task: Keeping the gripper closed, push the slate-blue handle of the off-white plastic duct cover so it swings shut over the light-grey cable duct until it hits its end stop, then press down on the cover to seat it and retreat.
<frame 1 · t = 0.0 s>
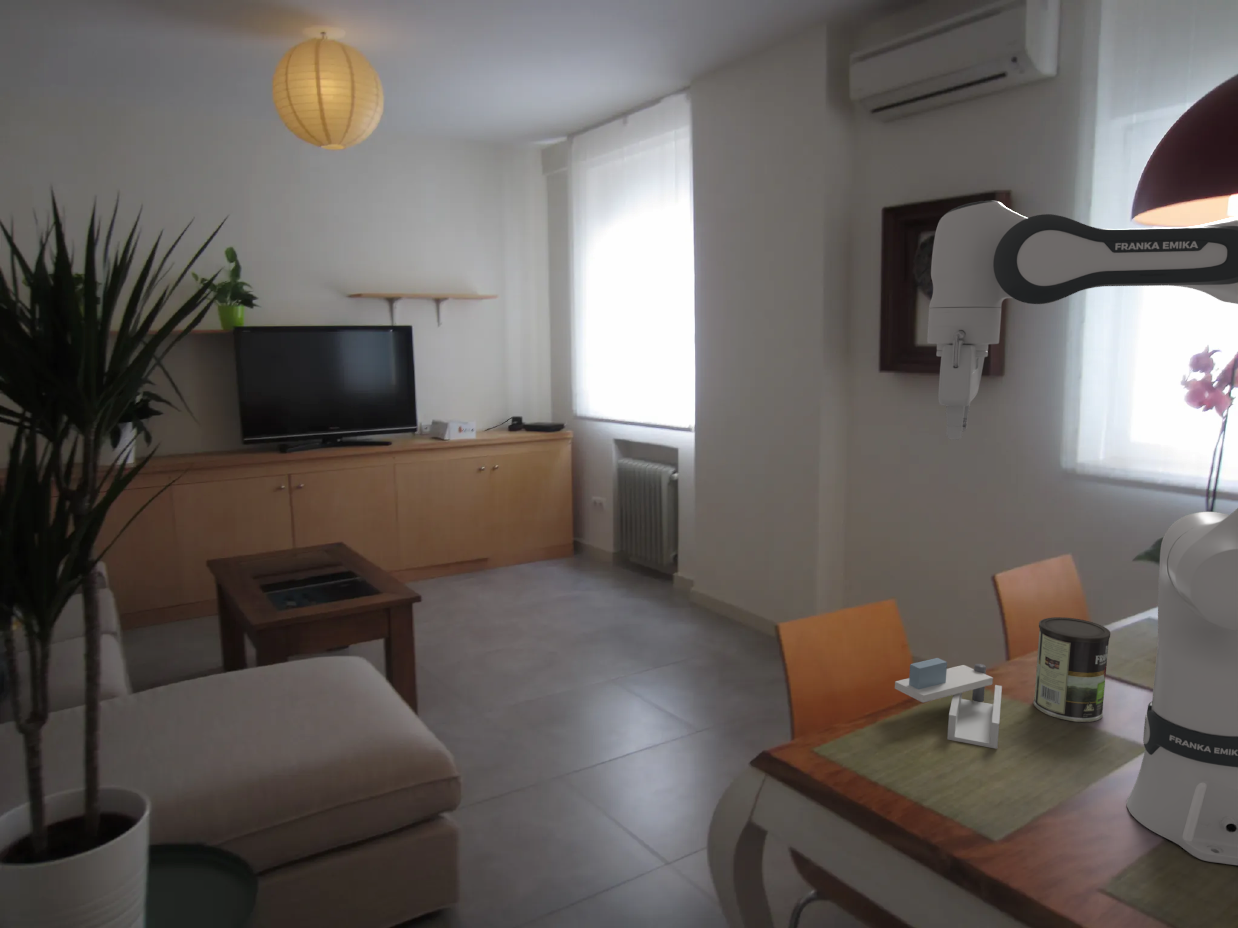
hand: (956, 435, 114), 48 cm above the table, fingers open, 8 cm apart
duct: (974, 723, 135), on the table
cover: (947, 683, 139), point 5 cm above the table, hinge at -38.0°
coffee can: (1067, 709, 141), on the table
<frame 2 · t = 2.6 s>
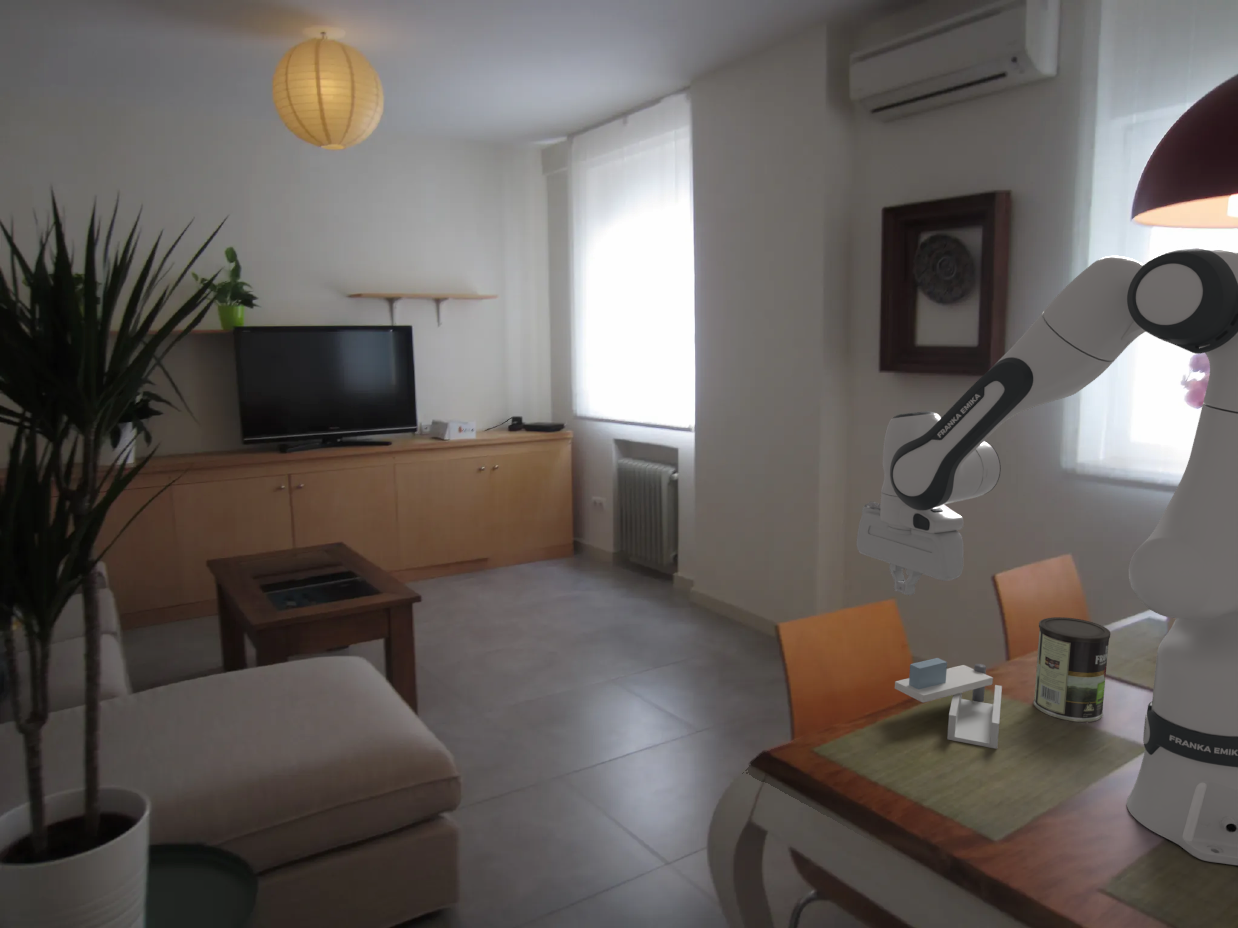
hand: (904, 592, 140), 19 cm above the table, fingers closed
nothing on the table moved.
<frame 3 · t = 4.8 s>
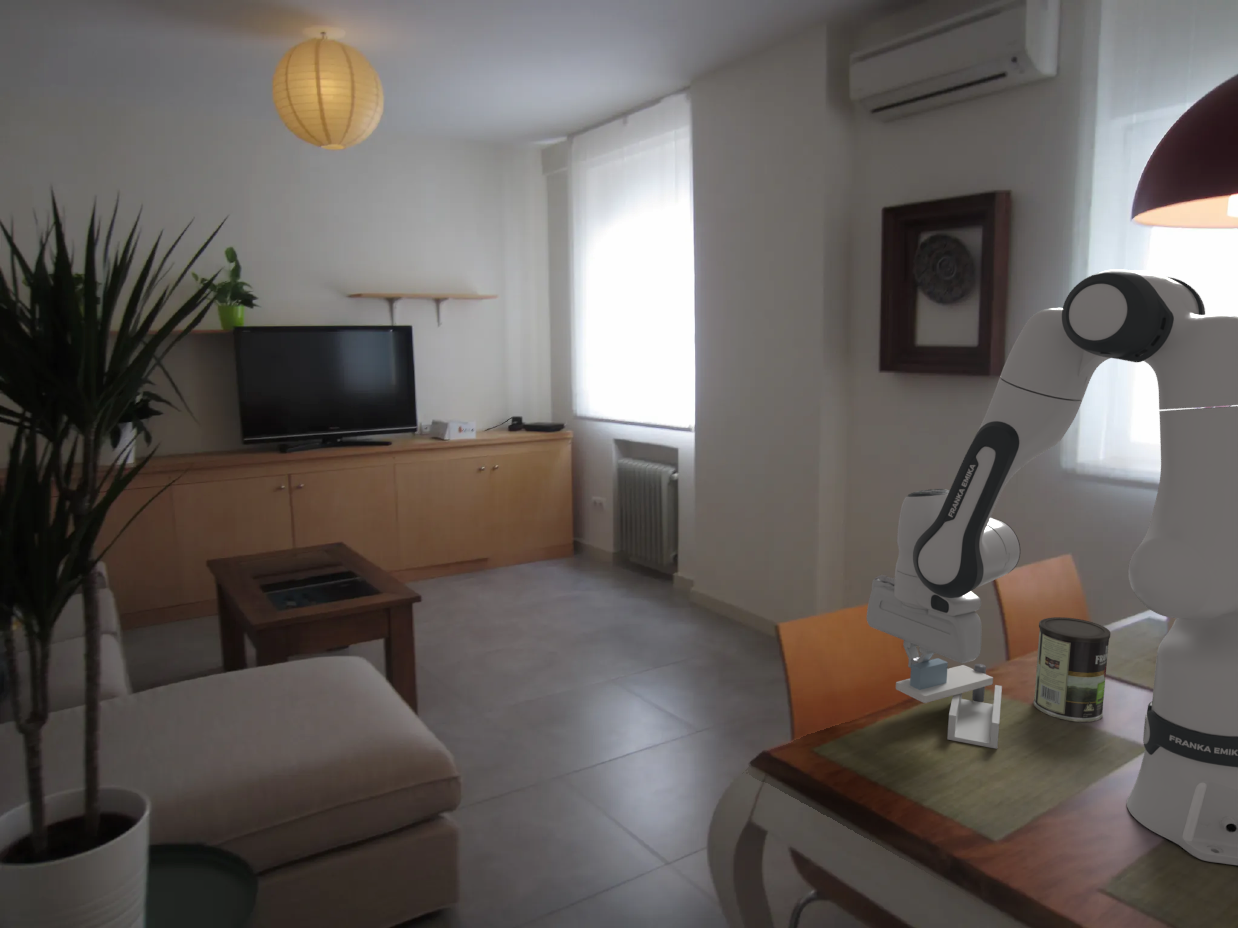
hand: (917, 669, 139), 7 cm above the table, fingers closed
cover: (947, 683, 139), point 5 cm above the table, hinge at -37.1°, touching gripper
everything else where it was.
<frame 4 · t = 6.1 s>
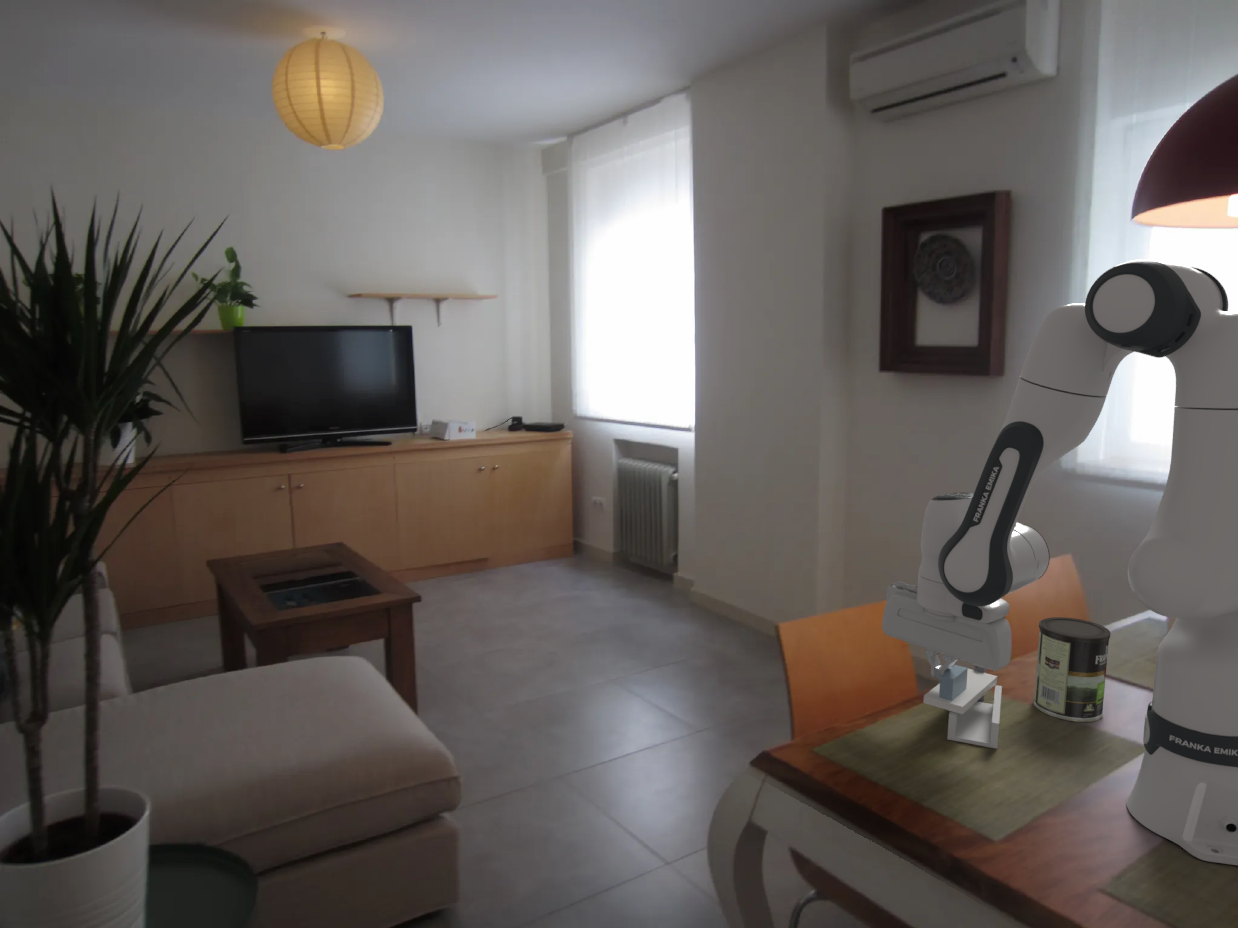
hand: (939, 677, 135), 7 cm above the table, fingers closed
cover: (962, 689, 137), point 5 cm above the table, hinge at -16.4°, touching gripper
everything else where it was.
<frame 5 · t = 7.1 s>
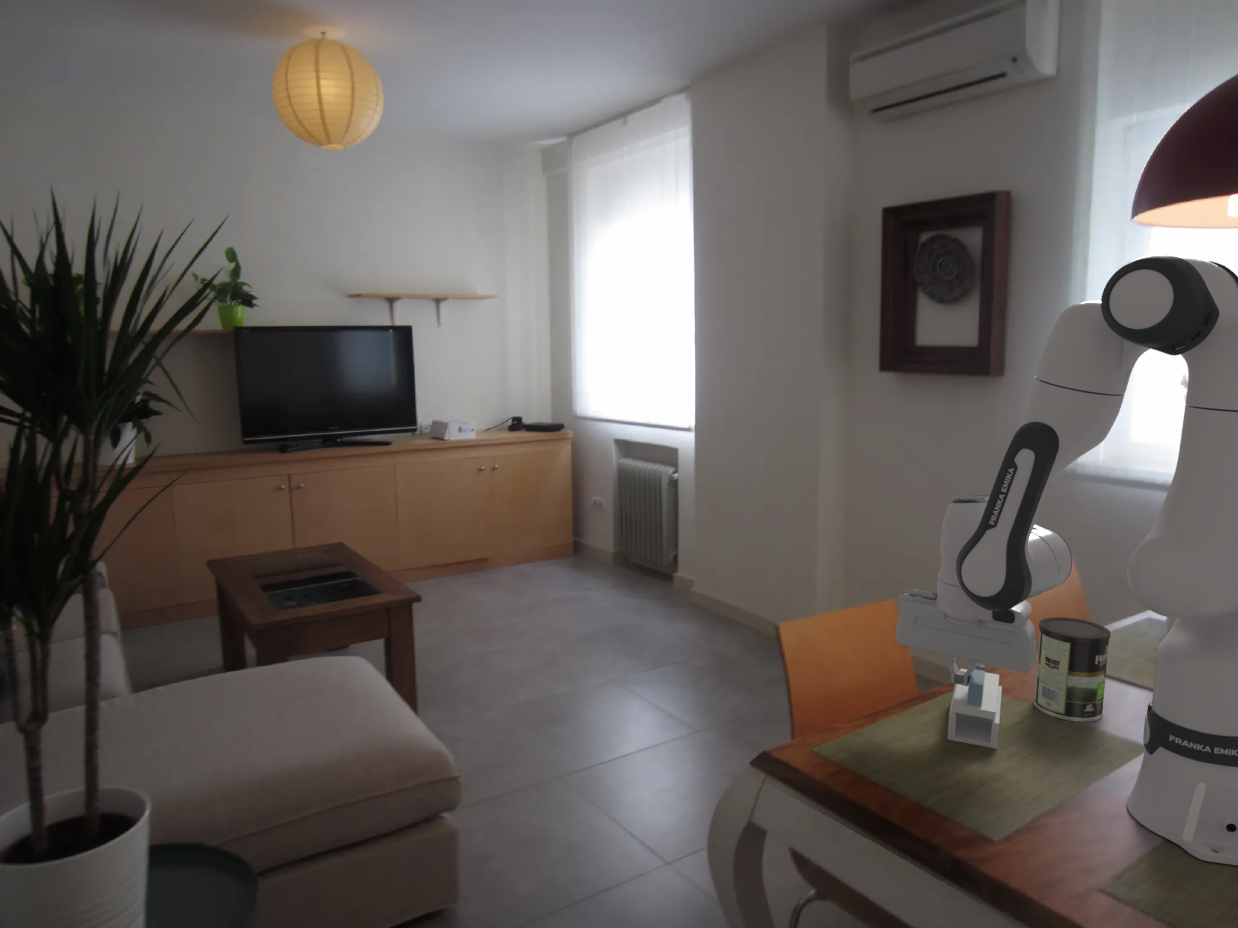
hand: (960, 683, 133), 7 cm above the table, fingers closed
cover: (976, 692, 136), point 5 cm above the table, hinge at -0.3°, touching gripper
everything else where it was.
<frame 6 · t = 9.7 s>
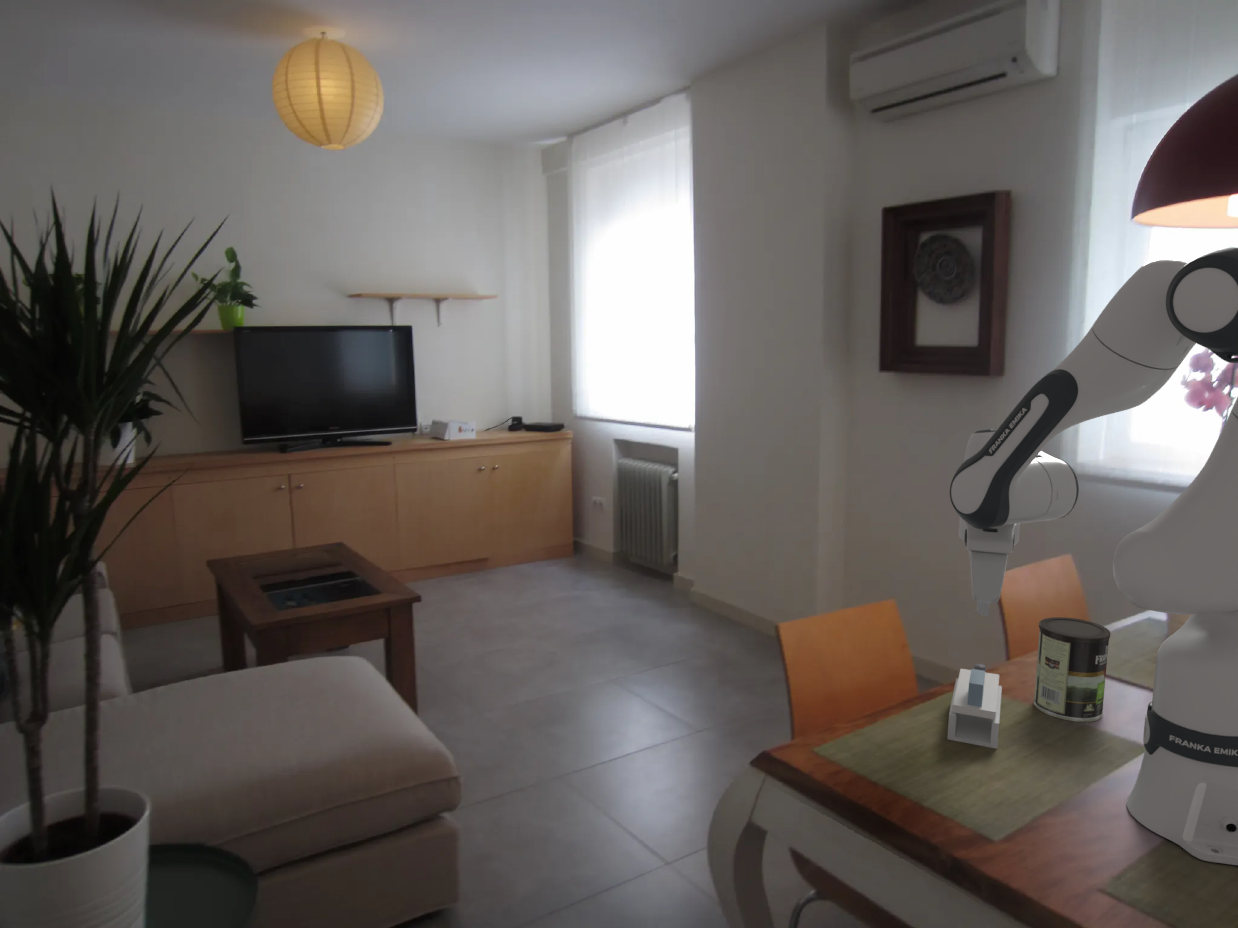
hand: (982, 612, 137), 17 cm above the table, fingers closed
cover: (977, 692, 136), point 5 cm above the table, hinge at -0.2°
everything else where it was.
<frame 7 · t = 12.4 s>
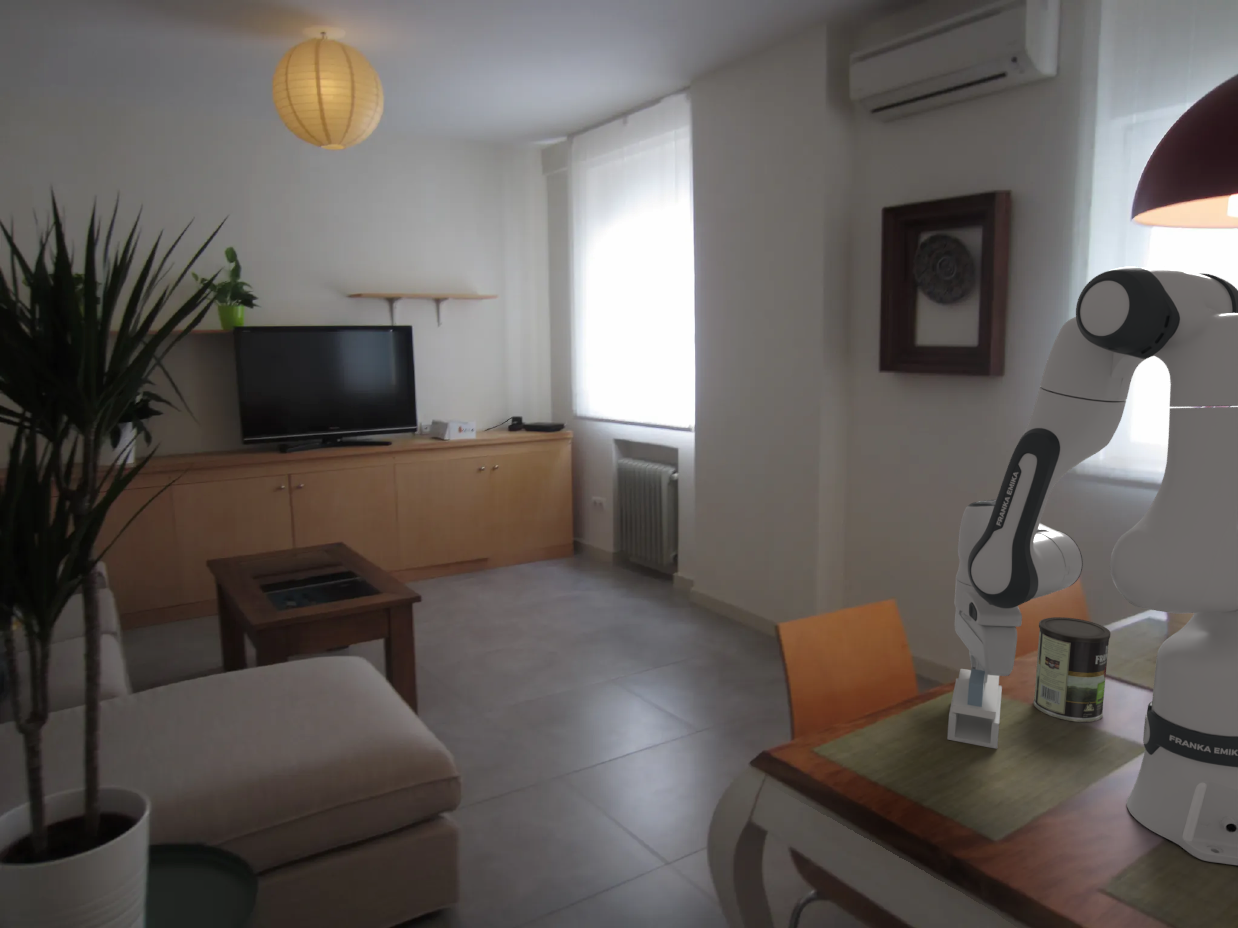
hand: (978, 679, 138), 6 cm above the table, fingers closed, pressing on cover
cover: (977, 692, 136), point 5 cm above the table, hinge at -0.2°, touching gripper
everything else where it was.
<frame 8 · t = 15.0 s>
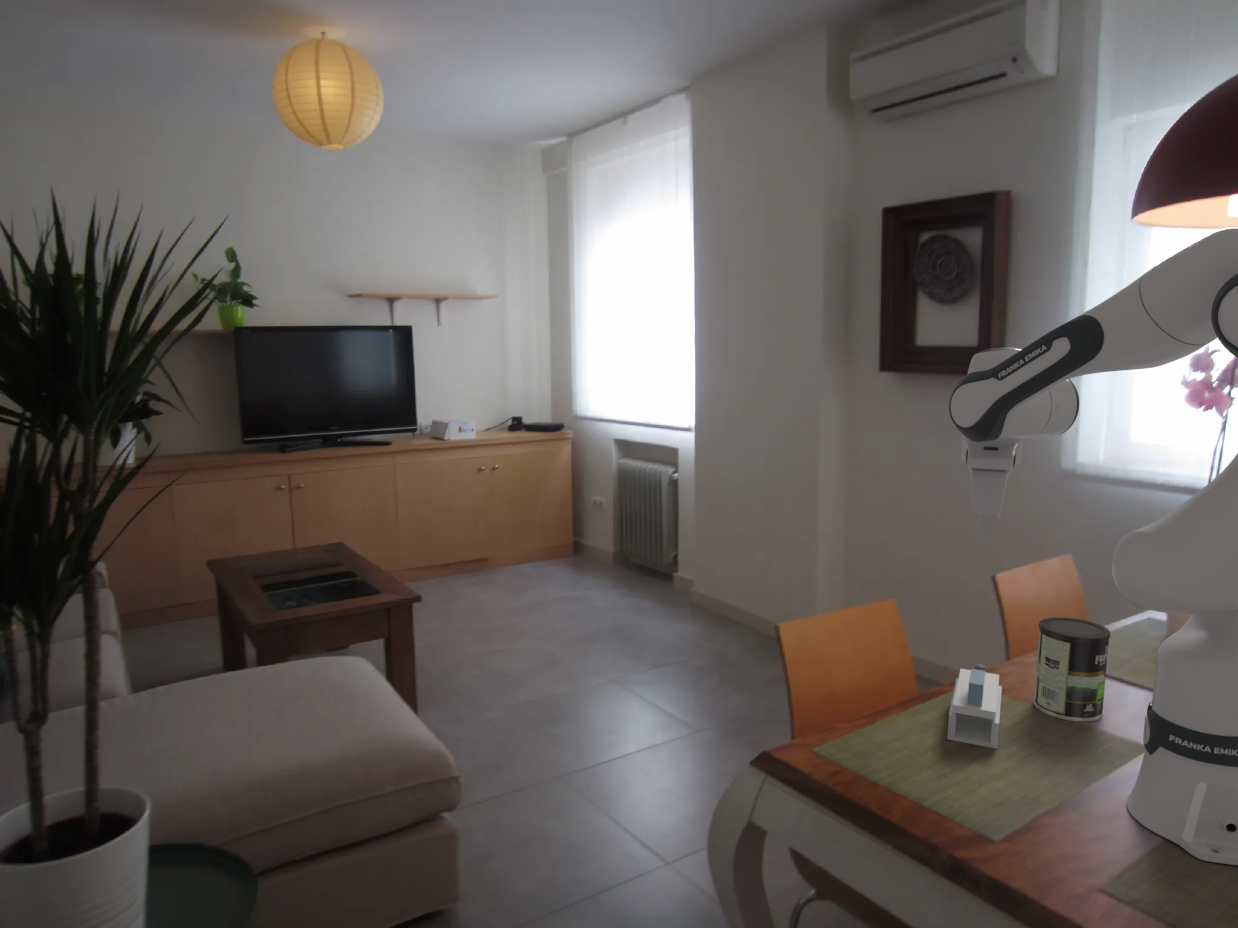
hand: (985, 536, 137), 29 cm above the table, fingers closed
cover: (977, 692, 136), point 5 cm above the table, hinge at -0.2°
everything else where it was.
at the end: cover at +0° (first picture: -38°); coffee can moved 0.2 cm from its start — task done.
